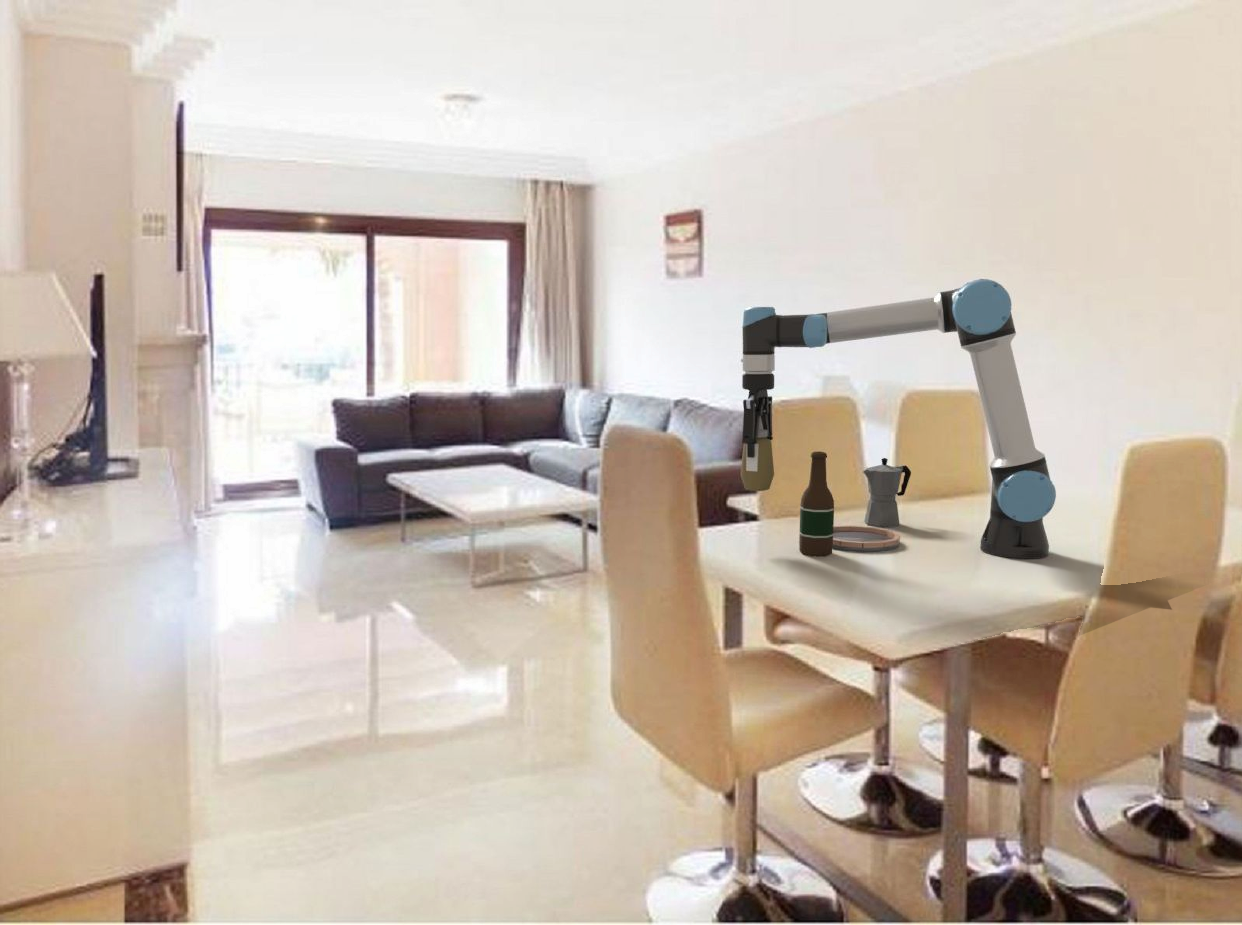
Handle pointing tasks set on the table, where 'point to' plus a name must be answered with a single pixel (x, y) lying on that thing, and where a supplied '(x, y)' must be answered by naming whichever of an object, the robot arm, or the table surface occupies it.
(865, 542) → the dish
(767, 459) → the squeeze bottle
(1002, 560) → the table surface
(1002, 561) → the table surface
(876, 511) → the coffeepot
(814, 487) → the beer bottle
